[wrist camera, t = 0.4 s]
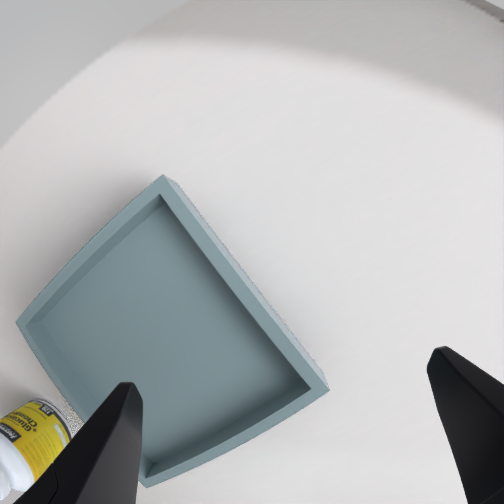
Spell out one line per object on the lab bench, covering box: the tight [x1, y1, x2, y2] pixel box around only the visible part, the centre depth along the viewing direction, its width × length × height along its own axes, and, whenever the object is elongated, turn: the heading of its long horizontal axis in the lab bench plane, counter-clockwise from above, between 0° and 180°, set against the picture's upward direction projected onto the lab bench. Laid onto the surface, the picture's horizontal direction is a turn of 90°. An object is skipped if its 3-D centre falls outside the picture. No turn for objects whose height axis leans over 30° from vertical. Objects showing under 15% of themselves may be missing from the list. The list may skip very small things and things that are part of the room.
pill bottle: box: [0, 400, 73, 500], centre depth 19 cm, size 6×6×12 cm
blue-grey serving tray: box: [16, 174, 330, 488], centre depth 21 cm, size 16×16×5 cm
